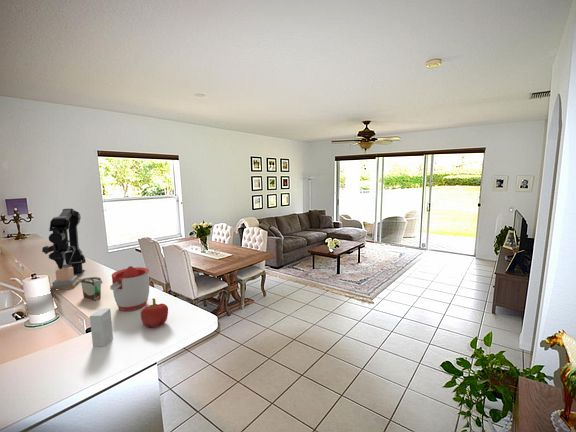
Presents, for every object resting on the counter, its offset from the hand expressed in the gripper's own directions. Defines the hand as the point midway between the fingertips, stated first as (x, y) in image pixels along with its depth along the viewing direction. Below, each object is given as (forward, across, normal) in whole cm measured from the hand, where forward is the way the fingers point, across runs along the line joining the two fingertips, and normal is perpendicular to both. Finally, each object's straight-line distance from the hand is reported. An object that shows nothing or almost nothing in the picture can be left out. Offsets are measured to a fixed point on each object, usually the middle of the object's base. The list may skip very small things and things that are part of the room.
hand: (64, 266), depth 157 cm
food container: (+12, +24, +21) cm, 34 cm away
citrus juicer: (+12, +42, +41) cm, 60 cm away
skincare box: (+12, +72, +37) cm, 82 cm away
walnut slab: (+12, 0, 0) cm, 12 cm away
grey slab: (+10, 0, 0) cm, 10 cm away
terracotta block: (+7, 0, 0) cm, 7 cm away
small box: (+12, -51, -15) cm, 55 cm away
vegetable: (+12, +64, +54) cm, 84 cm away
